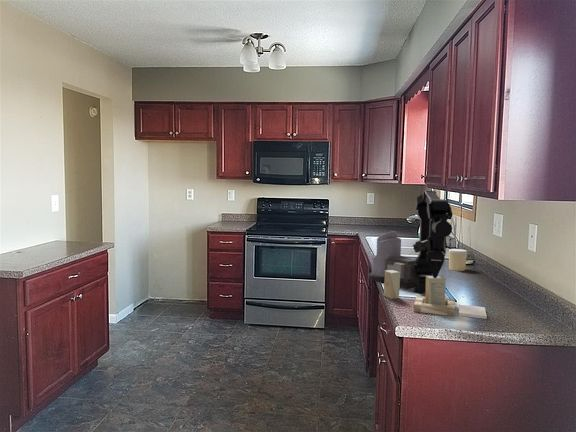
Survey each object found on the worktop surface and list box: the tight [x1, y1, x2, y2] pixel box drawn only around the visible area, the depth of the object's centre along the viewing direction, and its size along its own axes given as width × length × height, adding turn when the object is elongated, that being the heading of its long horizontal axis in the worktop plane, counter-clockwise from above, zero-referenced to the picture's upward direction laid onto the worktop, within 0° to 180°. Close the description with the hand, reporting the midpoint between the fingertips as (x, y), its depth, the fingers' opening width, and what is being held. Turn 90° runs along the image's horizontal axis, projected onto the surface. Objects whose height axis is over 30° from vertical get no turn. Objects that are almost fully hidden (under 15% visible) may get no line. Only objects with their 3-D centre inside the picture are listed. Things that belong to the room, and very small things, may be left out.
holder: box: [413, 295, 456, 317], centre depth 167 cm, size 14×14×2 cm
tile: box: [458, 304, 488, 320], centre depth 163 cm, size 12×9×1 cm
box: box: [383, 270, 401, 299], centre depth 182 cm, size 5×4×11 cm
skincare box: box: [425, 275, 446, 306], centre depth 167 cm, size 6×4×12 cm
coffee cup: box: [448, 248, 468, 272], centre depth 239 cm, size 9×9×12 cm
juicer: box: [368, 230, 416, 290], centre depth 210 cm, size 30×16×24 cm, turn 28°
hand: (435, 275), depth 167 cm, fingers open, 9 cm apart
